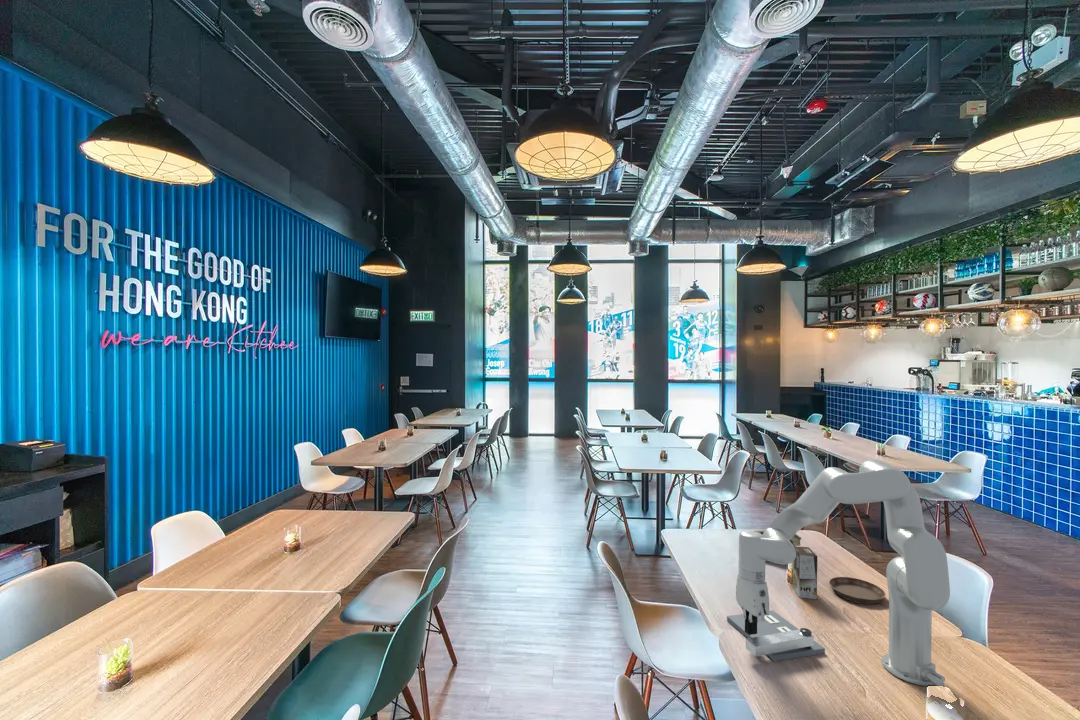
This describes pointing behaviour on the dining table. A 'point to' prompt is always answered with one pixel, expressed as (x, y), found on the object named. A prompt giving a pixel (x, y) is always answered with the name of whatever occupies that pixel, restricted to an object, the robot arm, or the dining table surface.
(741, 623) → the label board
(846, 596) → the plant saucer
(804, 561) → the coffee box
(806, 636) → the swing bar
